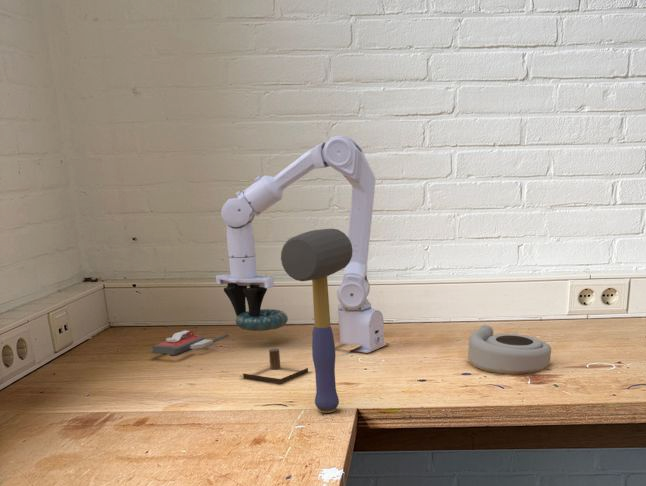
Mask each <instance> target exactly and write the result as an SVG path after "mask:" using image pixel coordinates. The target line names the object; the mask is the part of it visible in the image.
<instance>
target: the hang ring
mask: <svg viewBox="0 0 646 486" xmlns="http://www.w3.org/2000/svg"><path fill="white" fill-rule="evenodd" d="M288 321H289V316H288V314H287V313H286V312H285V311H283V310H280V309H273V308H264V309H263V308H262V309H261V308H260V314H259V317H252V316H250V315H249V310H246V312H243V313H241V314H240V315H239V316H238V317H237V316H236V318H235V324H236V326H237V327H238V328H240V329H241V330H244V331H249V332H263V331H271V330H272V331H273V330H278V329H280V328H283V327H285V326H286V324H287V323H288Z"/></svg>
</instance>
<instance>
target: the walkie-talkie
mask: <svg viewBox="0 0 646 486" xmlns="http://www.w3.org/2000/svg"><path fill="white" fill-rule="evenodd" d="M227 337H229V334H228V333H225V334H223V335H220V336H218V337H216V338H214V339H207V338H206V339H205V337H204V336H203V335H195V333H194V331H193V330H180V331H178V332H175V333H173V335H172V337H167V338H165V341H163V342H161V343H157V344H155V345H152V346H151V350H152V354H154V355H155V354H158V355H163V354H167V355H169V356H170V357H177V356H180V355H182V354H184V353H187V352H189V351H194V350H197V349H203V348H206V347H208V346H210V345H213V344H214V343H215V342H219V341H220V340H222V339H225V338H227Z"/></svg>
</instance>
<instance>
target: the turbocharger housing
mask: <svg viewBox="0 0 646 486" xmlns="http://www.w3.org/2000/svg"><path fill="white" fill-rule="evenodd" d="M551 355H552V347H551V345H550V344H549V343H547V342H545V341H542V340H539V338H535V337H534V336H530V335H527V334H526V335H525V334H518V333H499V334H494V329H493V327H492V326H491V325H488V324H482V325H481V326H480V327H479V328H478V329H476V330H475V331H473V332H472V333H471V334H470V335H469V338H468V349H467V359H468V361H469V363H470V364H471V365H472V366H474V367H475V368H477V369H480V370H483V371H487V372H491V373H495V374H496V373H498V374H507V375H522V374H531V373H536V372H539V371H540V372H541V371H542V370H544V369H546V368H547V367H548V366H549V365H550V363H551V357H552V356H551Z"/></svg>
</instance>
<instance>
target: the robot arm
mask: <svg viewBox="0 0 646 486" xmlns="http://www.w3.org/2000/svg"><path fill="white" fill-rule="evenodd" d="M329 167H330V168H332V169H333V170H335V171H337V172H338V173H340V174H341V175H342V176H343V177H344V178H345V179H346V181H347V182H348V183H349V184H350V185H351V187H352V189H351V199H350V200H351V201H350V211H349V212H350V213H349V221H348V223H349V224H348V232H347V233H348V234H347V237H348V238H349V240H350V242H351V244H352V250H353V251H352V258H351V260H350V263H349V264H348V265H347V266H346V267H345V268H343V269H344V270H343V274H342V275H343V277H342V281H341V283H340V284H339V287H338V288H337V291H336V296H337V301H338V303H339V304H338V305H337V311H338V314H337V315H338V330H339V334H338V335H339V343H341V345H342V344H343V345H346V346H347V345H349V346H358V347H355V348H353V349H350V350H349V352H355V353H364V354H369V353H372V352H373V351H376V350H378V349H380V348H383V347H385V346H387V343H386V342H385V328H384V327H385V325H384V323H385V322H384V316H383V313H382V311H380V310H379V309H375V308H373V307H372V303H371V302H370V301H369V300H368V299H367V298H368V296H369V294H370V291H371V289H370V288H371V286H370V282H369V279H368V259H369V249H370V239H371V229H372V219H373V210H374V209H373V208H374V199H375V189H376V176H375V173H374V171H373V169H372V167H371V164H370V163H369V161H368V158H367V157H366V155H365V153H364V151H363V149H362V147H360V145H358V144H357V143H356V141H354V140H353V139H352V138H350V137H349V136H346V135H345V136H344V135H335V136H332V137H330V138H328V139H327V141H326V142H321V143H319V144H317V145H316V146H314V147H312V148H310V149H309V150H307V151H306V152H304V153H303V154H302V155H301V156H300V157H298V158H296V159H295V160H294V161H293V162H291V163H290V164H289V165H288V166H286V167H285V168H283V169H282V170H281V171H279V172H278V173H277V174H276V175H274V176H270V175H266V174H264V175H263V176H261V175H258V176H257V177H255V178H254V179H253V182H254V183H251V185H249V186H248V187H246V188H245V189H244V190H238V191H237V192H236V193H235V194H236V196H237V197H232V198H229V199H227V200H226V202H225V203H224V204H223V205H222V207H221V212H220V214H221V218H222V220H223V222H224V223H225V229H226V244H227V245H226V246H227V255H228V263H229V264H228V265H229V272H230V274H222V273H221V274H218V275H217V274H216V275H215V280H216V285H218V286H219V285H227V286H226V287H224V288H223V292H224V293H225V295H226V296H227V298H228V299H229V301H230V303H231V305H232V307H233V310H234V312H235V316H236V318H237V317H238V316H239V315H240V314H241V313H243V312H247V306H248V311H249V315H250V316H252V317H259V314H260V309H261V307H262V303H263V300H264V297H265V295H266V293H267V291H268V289H271V288H274V287H275V281H274V277H267V276H263V275H258V267H257V266H258V265H257V254H256V245H255V234H254V229H253V220H254V218H255V217H256V216H257V217H258V216H260V215H261V214H263V213H265V211H267V210H269V208H271V207H272V206H274V205H275V204H277V203H278V202H279V201H281V200H282V199H283V192H284V190H285V189H286V188H288V187H289V186H291V185H293V184H294V183H295V182H297V181H298V180H300V179H301V178H303V177H304V176H306V175H307V174H309V173H310V172H312V171H314V170H316V169H324V168H329ZM246 303H247V305H246Z"/></svg>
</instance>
